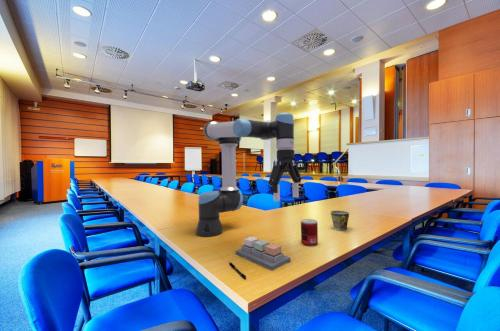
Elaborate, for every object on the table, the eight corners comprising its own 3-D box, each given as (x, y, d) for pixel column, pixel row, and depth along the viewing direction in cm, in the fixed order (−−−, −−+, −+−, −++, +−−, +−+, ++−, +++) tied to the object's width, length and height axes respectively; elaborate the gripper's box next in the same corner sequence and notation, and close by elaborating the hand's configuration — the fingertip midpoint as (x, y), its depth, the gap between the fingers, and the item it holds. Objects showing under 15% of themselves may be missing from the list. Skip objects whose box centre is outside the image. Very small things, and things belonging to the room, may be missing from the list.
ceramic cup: (328, 226, 133) (328, 210, 133) (345, 226, 132) (345, 210, 132) (336, 233, 120) (336, 215, 120) (354, 233, 119) (354, 215, 119)
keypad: (235, 254, 94) (235, 245, 94) (253, 247, 101) (253, 239, 101) (272, 270, 78) (271, 260, 78) (290, 261, 86) (290, 252, 86)
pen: (248, 280, 73) (248, 277, 73) (243, 280, 72) (244, 277, 72) (231, 264, 85) (232, 261, 85) (227, 263, 84) (228, 260, 84)
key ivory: (244, 244, 94) (244, 238, 94) (251, 241, 97) (251, 236, 97) (251, 247, 91) (251, 241, 91) (258, 244, 94) (258, 238, 94)
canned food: (319, 242, 106) (319, 220, 106) (314, 247, 99) (314, 223, 100) (304, 239, 110) (304, 218, 110) (298, 244, 104) (298, 221, 104)
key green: (254, 248, 90) (253, 242, 90) (261, 245, 93) (261, 239, 93) (261, 251, 86) (261, 245, 86) (269, 248, 89) (269, 242, 90)
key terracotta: (264, 252, 85) (264, 246, 85) (272, 249, 88) (272, 243, 88) (273, 255, 82) (273, 249, 82) (281, 252, 85) (281, 246, 85)
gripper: (273, 147, 82) (275, 203, 82) (308, 150, 99) (309, 196, 99) (259, 149, 87) (260, 201, 87) (294, 151, 105) (295, 195, 104)
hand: (286, 199), depth 93 cm, fingers open, 13 cm apart
